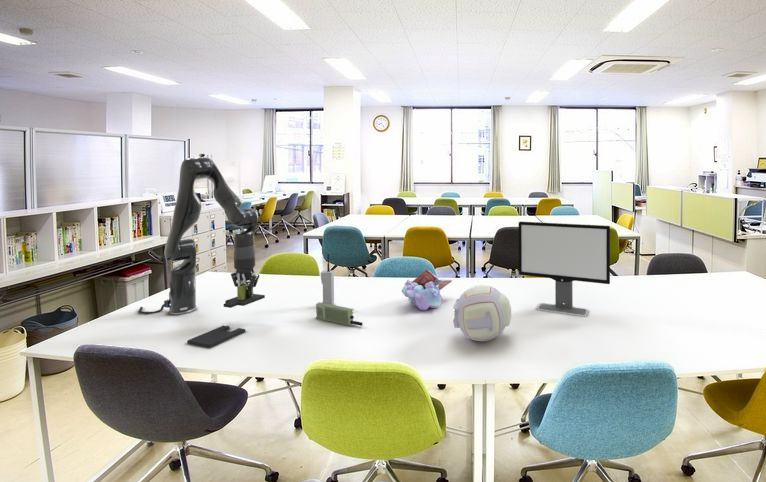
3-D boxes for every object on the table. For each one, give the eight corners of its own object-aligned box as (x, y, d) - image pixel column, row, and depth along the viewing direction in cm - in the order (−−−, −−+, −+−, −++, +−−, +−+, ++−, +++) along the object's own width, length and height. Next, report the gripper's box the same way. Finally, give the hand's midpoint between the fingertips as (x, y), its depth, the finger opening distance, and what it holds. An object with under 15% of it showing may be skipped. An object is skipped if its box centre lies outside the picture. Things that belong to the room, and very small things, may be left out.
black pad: (218, 306, 147) (217, 290, 147) (247, 295, 160) (247, 281, 160) (236, 308, 144) (236, 292, 144) (264, 297, 157) (264, 283, 157)
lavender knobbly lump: (395, 303, 164) (416, 269, 164) (399, 286, 185) (417, 256, 186) (434, 324, 167) (454, 290, 167) (434, 305, 188) (452, 275, 189)
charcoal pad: (187, 343, 137) (187, 340, 137) (223, 328, 151) (223, 325, 151) (210, 348, 134) (210, 344, 134) (245, 331, 147) (245, 329, 147)
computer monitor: (517, 307, 172) (517, 222, 171) (522, 301, 180) (522, 220, 179) (609, 320, 157) (609, 227, 156) (610, 312, 164) (610, 224, 164)
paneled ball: (456, 326, 151) (455, 278, 151) (509, 326, 150) (509, 278, 150) (450, 351, 130) (450, 295, 130) (512, 351, 129) (512, 296, 129)
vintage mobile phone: (323, 304, 176) (322, 253, 176) (334, 304, 177) (333, 253, 176) (320, 307, 173) (320, 255, 172) (331, 307, 173) (331, 255, 173)
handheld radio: (321, 316, 163) (364, 325, 152) (315, 319, 160) (359, 329, 149) (320, 301, 162) (364, 309, 152) (314, 304, 159) (358, 313, 149)
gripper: (223, 257, 152) (224, 298, 152) (249, 259, 148) (249, 302, 148) (240, 253, 159) (241, 292, 159) (265, 255, 155) (266, 295, 155)
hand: (245, 297), depth 154 cm, fingers closed on black pad, 2 cm apart
